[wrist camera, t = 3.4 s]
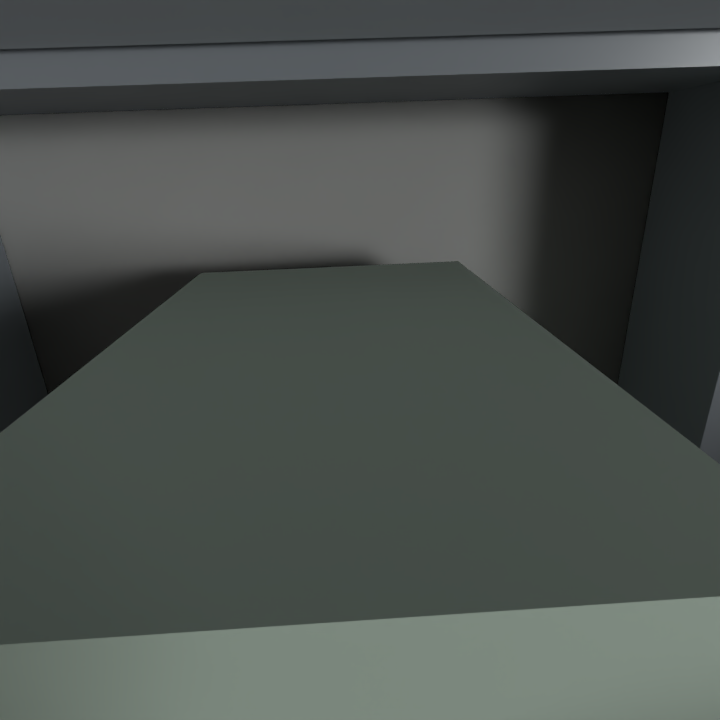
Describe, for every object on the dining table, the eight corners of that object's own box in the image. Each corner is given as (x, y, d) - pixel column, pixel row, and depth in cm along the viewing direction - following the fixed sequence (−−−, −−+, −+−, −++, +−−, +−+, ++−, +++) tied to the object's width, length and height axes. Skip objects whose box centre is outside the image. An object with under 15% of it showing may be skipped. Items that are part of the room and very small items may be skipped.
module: (457, 261, 10) (876, 584, 2) (446, 573, 13) (606, 1164, 5) (201, 272, 9) (-294, 665, 2) (250, 586, 12) (124, 1213, 5)
